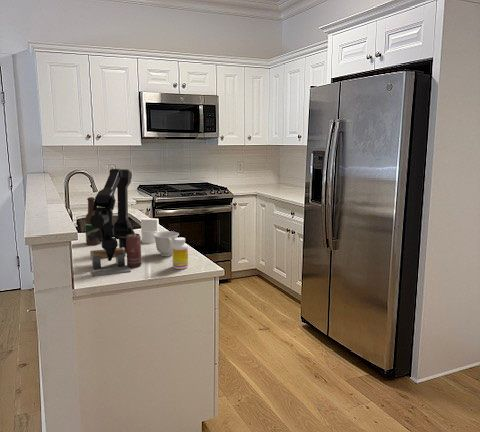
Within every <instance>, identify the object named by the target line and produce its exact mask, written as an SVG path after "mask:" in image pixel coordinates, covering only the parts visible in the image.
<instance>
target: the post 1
mask: <svg viewBox="0 0 480 432" xmlns="http://www.w3.org/2000/svg"><path fill="white" fill-rule="evenodd" d="M101 261H102V259H101V258H100V256H99V257H93V260H91V264H92V268H93V269H92V270H99V269H102V262H101Z"/></svg>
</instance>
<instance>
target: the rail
mask: <svg viewBox="0 0 480 432" xmlns="http://www.w3.org/2000/svg"><path fill="white" fill-rule="evenodd" d="M89 253H90V260H91V261H92V260H93V257H99V256H100V258H101V260H105V259H107V260H108V258H107V254H106V250H105V249H96V250H90V252H89ZM118 254H124V255H125V257H126V258H127V255H126V252H125V248H124V247H123V248H119V247H118V248H117V247H116V250H115V252H114V254H113V257H112V259H113V258H115V259H116V257H117V255H118Z"/></svg>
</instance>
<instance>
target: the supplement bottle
mask: <svg viewBox="0 0 480 432" xmlns="http://www.w3.org/2000/svg"><path fill="white" fill-rule="evenodd" d="M174 242H175V244H174V245H173V246H172V255H171V256H172V268H173V269H175V270H184V269H185V270H186V269H187V268H188V266H189V258H188V257H189V255H188V253H189V248H188V244H187V243H186V238H185V237H182V236H181V237H177V238H175V239H174Z"/></svg>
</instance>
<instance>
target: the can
mask: <svg viewBox="0 0 480 432" xmlns="http://www.w3.org/2000/svg"><path fill="white" fill-rule="evenodd" d="M141 243H142V236H141V235H140V234H139V233H137V232H135V233H133V234H128V235H127V236H126V251H127V252H126V266H128V267H129V269H133V268H134V269H135V268H140V267H142V244H141Z"/></svg>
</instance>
